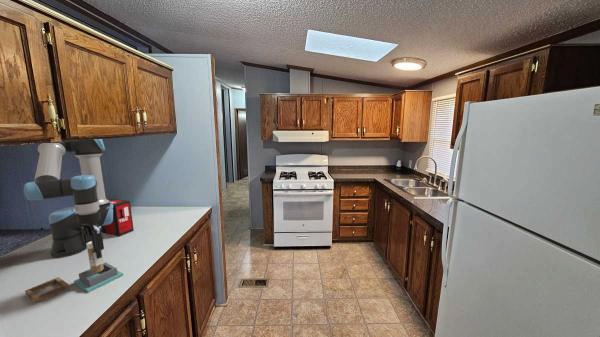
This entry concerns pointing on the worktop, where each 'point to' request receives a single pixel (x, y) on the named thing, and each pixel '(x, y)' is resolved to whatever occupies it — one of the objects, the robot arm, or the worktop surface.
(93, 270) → the sprinkles bottle
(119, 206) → the cleaning product box
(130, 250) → the worktop surface
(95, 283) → the plate
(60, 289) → the stand collar
